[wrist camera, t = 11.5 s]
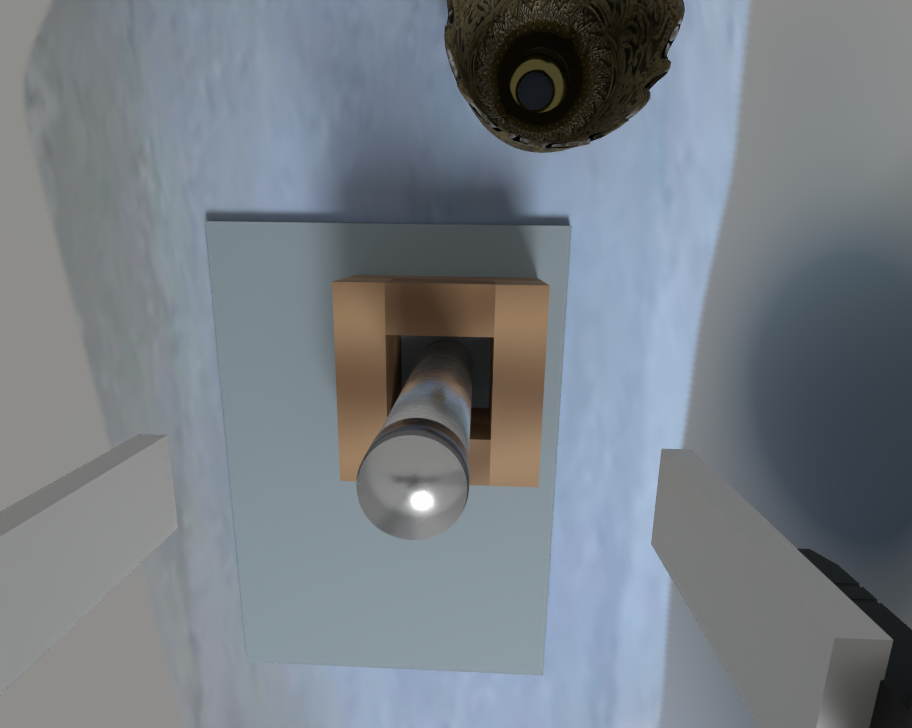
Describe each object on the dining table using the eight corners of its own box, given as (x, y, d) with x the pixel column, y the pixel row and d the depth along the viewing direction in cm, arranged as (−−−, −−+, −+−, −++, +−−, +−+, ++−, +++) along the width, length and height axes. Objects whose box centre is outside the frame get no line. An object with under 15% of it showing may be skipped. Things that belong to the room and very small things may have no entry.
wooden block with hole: (529, 448, 28) (538, 487, 23) (361, 443, 28) (340, 480, 23) (537, 277, 25) (549, 285, 21) (356, 274, 26) (331, 281, 21)
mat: (542, 670, 31) (543, 675, 31) (250, 656, 32) (247, 661, 32) (570, 226, 25) (571, 225, 25) (208, 221, 26) (204, 221, 25)
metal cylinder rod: (473, 392, 27) (468, 543, 13) (418, 391, 27) (356, 540, 13) (474, 337, 26) (469, 437, 13) (417, 337, 26) (352, 434, 13)
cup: (422, 89, 24) (395, 17, 16) (541, -39, 23) (573, -186, 15) (529, 209, 25) (552, 195, 17) (649, 93, 24) (733, 21, 16)
